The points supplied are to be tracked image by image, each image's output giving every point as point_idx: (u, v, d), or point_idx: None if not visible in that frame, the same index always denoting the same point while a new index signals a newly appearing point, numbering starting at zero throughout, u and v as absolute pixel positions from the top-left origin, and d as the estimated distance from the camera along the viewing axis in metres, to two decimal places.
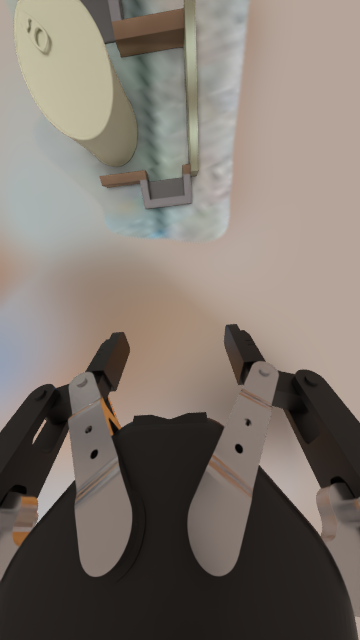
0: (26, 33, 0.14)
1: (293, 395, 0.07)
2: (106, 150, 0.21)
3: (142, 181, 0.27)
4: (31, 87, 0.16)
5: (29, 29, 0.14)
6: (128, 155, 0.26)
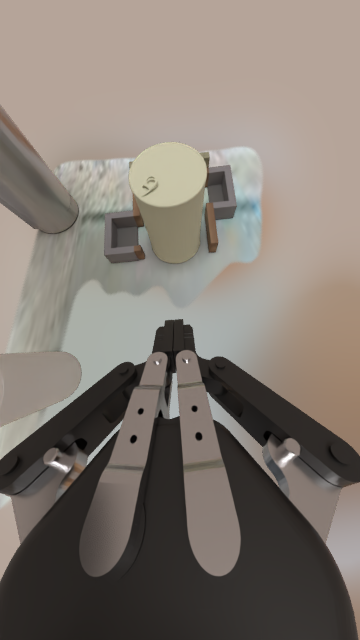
0: (148, 192, 0.17)
1: (206, 378, 0.08)
2: None
3: (214, 206, 0.27)
4: (173, 202, 0.17)
5: (146, 192, 0.17)
6: None
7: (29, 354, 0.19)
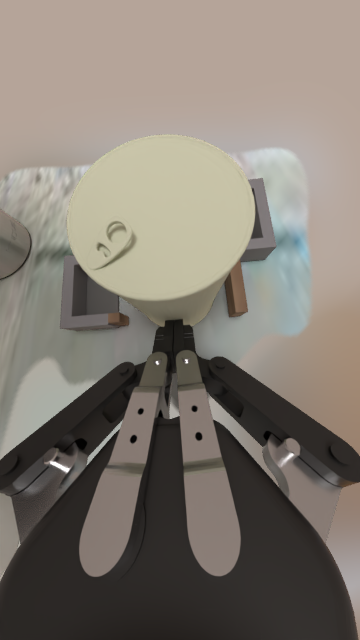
0: (110, 261, 0.07)
1: (206, 378, 0.08)
2: None
3: None
4: (173, 289, 0.06)
5: (106, 257, 0.07)
6: None
7: None
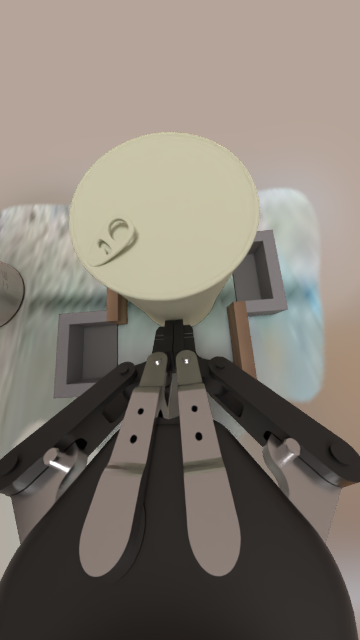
0: (110, 258, 0.07)
1: (206, 378, 0.08)
2: None
3: (248, 308, 0.15)
4: (173, 290, 0.06)
5: (107, 254, 0.07)
6: None
7: None
